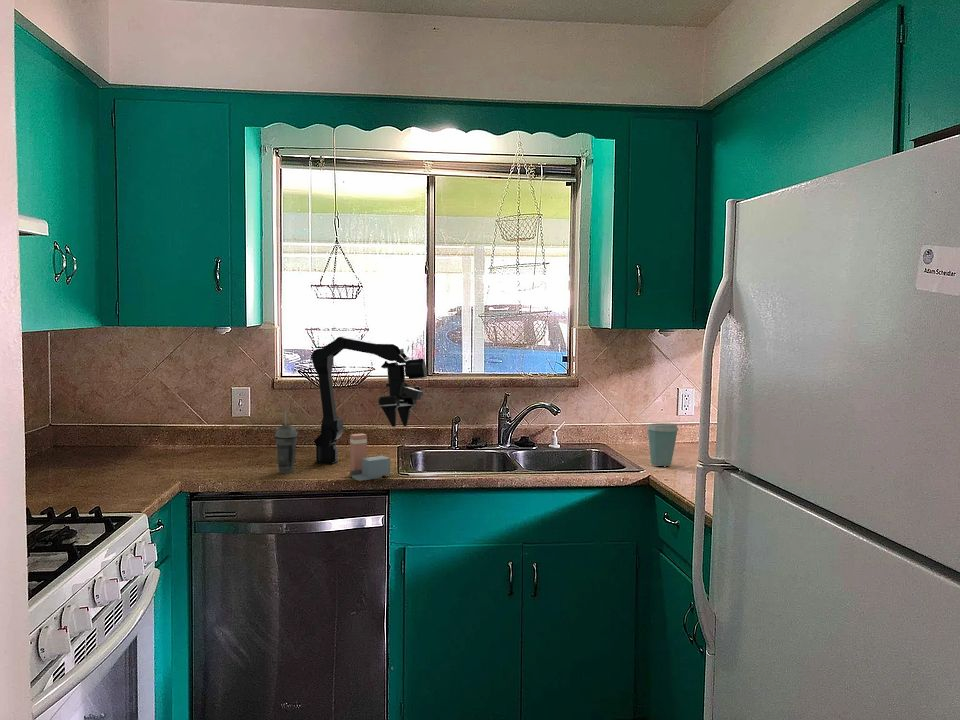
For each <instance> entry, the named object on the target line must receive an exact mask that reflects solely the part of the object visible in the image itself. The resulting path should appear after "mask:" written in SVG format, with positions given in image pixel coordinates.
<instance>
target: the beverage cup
mask: <svg viewBox="0 0 960 720" xmlns="http://www.w3.org/2000/svg"><path fill="white" fill-rule="evenodd" d="M274 438H275V443H276V452H277V462H278V463H277V464H278V472H280V474H293V473H294V470H295V463H296V462H295V461H296V460H295V459H296V450H297V442H298V438H299V437H298V432H297V429H296V428H295V427H294V426H293V425H291V424H288V423H287V410H284V424H281V425H280V426H279V427H278V428H277V429H276V431H275V435H274ZM292 472H293V473H292Z"/></svg>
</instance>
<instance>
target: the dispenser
mask: <svg viewBox="0 0 960 720" xmlns="http://www.w3.org/2000/svg"><path fill="white" fill-rule="evenodd" d="M349 475H350V478H351V477H352V478H351V479H354V480H356V481H358V482H359V481H361V482H362V481H369V480H375V479H376V480H377V479H382V478H383V476H389V475H391V458H390V457H387V456H384V455H378V456H372V457H367V458H362V470H355V471H350V470H349Z"/></svg>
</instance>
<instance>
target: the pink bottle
mask: <svg viewBox="0 0 960 720" xmlns="http://www.w3.org/2000/svg"><path fill="white" fill-rule="evenodd" d="M367 451H368V435H367V434H366V433H354V434H353V433H352V434H350V436H349V461H350V462H349V472H350V471H355V470H362V458H368V457H367V456H368V452H367Z"/></svg>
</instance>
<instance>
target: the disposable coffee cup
mask: <svg viewBox="0 0 960 720" xmlns="http://www.w3.org/2000/svg"><path fill="white" fill-rule="evenodd" d="M646 429H647V438H648V439H647V440H648V449H649V456H650V457H649V458H650V464H651V465H654V466H653V467H656V466H670V467H671V465H672V463H673V456H674V452H675V445H676V440H677V436H678V435H677V434H678V432H679V427H678V424H677V423H669V422H667V423H665V422H663V423H658V422H657V423H650V424H648V425H647V427H646Z"/></svg>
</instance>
